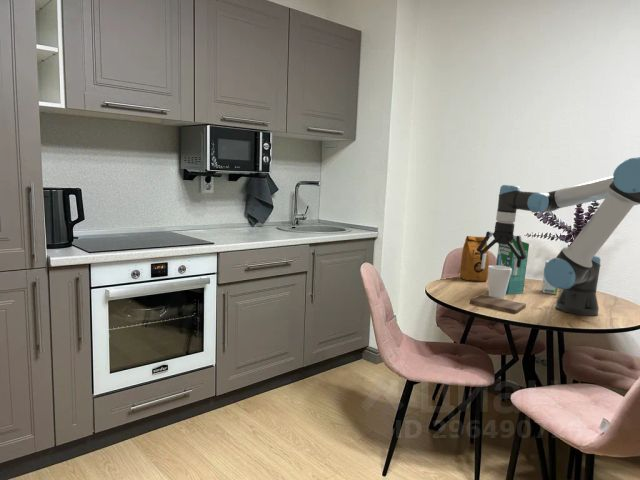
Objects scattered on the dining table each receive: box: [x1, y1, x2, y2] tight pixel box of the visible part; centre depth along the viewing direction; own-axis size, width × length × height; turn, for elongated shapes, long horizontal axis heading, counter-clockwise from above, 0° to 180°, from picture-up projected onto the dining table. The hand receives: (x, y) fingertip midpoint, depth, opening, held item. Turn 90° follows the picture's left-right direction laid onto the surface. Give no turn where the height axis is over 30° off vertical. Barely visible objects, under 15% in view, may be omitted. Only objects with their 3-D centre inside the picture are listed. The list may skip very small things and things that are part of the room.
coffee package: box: [459, 235, 490, 282], centre depth 239 cm, size 10×12×22 cm
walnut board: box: [469, 294, 527, 315], centre depth 194 cm, size 18×13×2 cm
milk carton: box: [495, 238, 530, 295], centre depth 219 cm, size 9×9×25 cm
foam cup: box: [487, 264, 512, 299], centre depth 207 cm, size 10×9×13 cm
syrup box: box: [541, 260, 558, 295], centre depth 223 cm, size 6×6×14 cm
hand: (498, 271), depth 207 cm, fingers open, 13 cm apart
